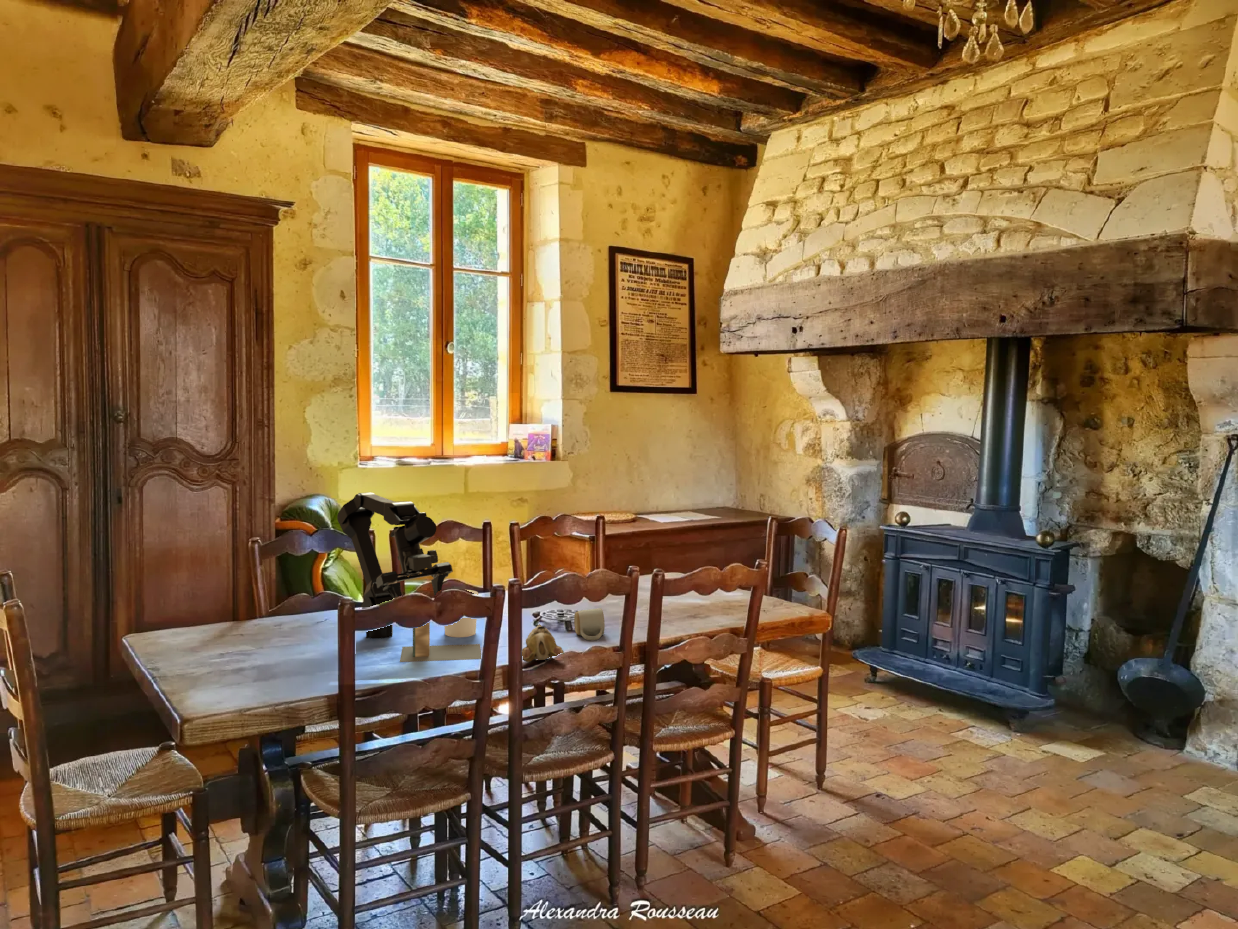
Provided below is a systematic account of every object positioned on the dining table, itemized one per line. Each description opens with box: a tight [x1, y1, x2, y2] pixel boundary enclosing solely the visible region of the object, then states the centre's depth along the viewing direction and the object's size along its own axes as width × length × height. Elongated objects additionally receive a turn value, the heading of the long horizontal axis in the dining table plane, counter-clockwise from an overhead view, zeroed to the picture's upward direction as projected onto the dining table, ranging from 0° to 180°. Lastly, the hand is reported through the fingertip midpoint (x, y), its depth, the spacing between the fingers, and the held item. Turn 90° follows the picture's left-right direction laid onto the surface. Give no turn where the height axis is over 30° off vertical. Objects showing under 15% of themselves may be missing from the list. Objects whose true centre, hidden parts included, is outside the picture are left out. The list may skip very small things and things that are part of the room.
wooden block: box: [412, 621, 431, 657], centre depth 227 cm, size 4×6×10 cm, turn 11°
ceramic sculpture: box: [521, 624, 565, 663], centre depth 227 cm, size 11×9×15 cm
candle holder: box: [443, 589, 479, 638], centre depth 248 cm, size 10×10×12 cm
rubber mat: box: [399, 643, 482, 663], centre depth 229 cm, size 20×14×1 cm
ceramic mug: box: [573, 607, 606, 641], centre depth 250 cm, size 10×8×7 cm
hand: (421, 607), depth 228 cm, fingers open, 9 cm apart
